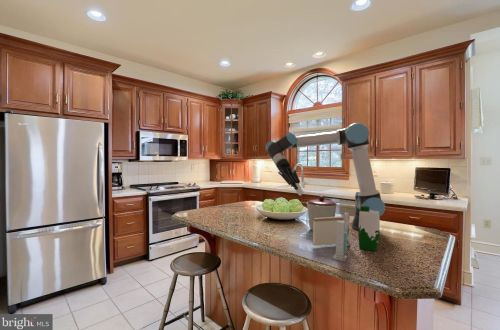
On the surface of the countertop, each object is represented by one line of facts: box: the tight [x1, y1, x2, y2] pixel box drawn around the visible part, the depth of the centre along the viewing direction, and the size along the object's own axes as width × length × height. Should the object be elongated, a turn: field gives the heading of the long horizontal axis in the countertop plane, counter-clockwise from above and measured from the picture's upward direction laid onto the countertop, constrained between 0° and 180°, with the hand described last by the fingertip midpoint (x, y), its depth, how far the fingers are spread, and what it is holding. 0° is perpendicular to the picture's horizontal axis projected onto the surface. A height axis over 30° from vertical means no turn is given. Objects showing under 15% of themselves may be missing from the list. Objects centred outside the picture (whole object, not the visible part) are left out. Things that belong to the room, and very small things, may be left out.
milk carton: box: [358, 206, 381, 252], centre depth 122 cm, size 9×9×20 cm
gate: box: [312, 216, 344, 247], centre depth 123 cm, size 16×2×13 cm, turn 107°
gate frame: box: [332, 212, 351, 263], centre depth 117 cm, size 25×5×16 cm, turn 152°
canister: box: [305, 195, 338, 232], centre depth 151 cm, size 18×18×21 cm
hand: (301, 193), depth 137 cm, fingers closed
